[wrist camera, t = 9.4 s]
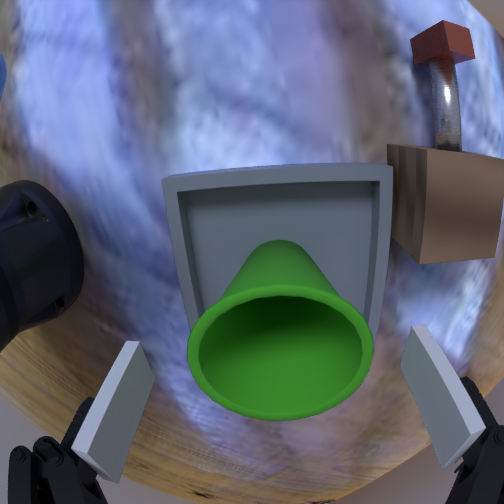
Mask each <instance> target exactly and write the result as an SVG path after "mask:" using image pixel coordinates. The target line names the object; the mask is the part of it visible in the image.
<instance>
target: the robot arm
mask: <svg viewBox="0 0 504 504" xmlns="http://www.w3.org/2000/svg"><path fill="white" fill-rule="evenodd" d="M6 77H7V69H6V63H5V60H4V57H3V55H2V54H1V53H0V100H1V97H2V94H3V91H4V88H5V83H6ZM82 282H83V260H82V253H81V248H80V244H79V241H78V238H77V235H76V232H75V229H74V227H73V225H72V223H71V221H70V219H69V217H68V215H67V213H66V211H65V210H64V208H63V207H62V205H61V204H60V203H59V201H58V200H57V199H56V198H55V197H54V196H53V195H52V194H51V193H50V192H49V191H48V190H47V189H46V188H44V187H43V186H41V185H40V184H38V183H35V182H32V181H28V180H21V181H17V182H14V183H11V184H8V185H5V186H3V187H1V188H0V352H1V351H2V350H3V349H4V348H5V347H6V346H7V345H8V344H9V343H10V341H11V340H12V339H13V338H14V337H15V336H16V335H17V334H18V333H20V332H22V331H25V330H27V329H30V328H32V327H35V326H37V325H40V324H42V323H45V322H47V321H50V320H52V319H55V318H57V317H58V316H60V315H61V314H63V313H64V312H65V311H66V310H67V309H68V308H69V307H70V306H71V305H72V304H73V303H74V302H75V300H76V299H77V297H78V295H79V293H80V290H81V287H82ZM400 368H401V370H402V372H403V374H404V377H405V379H406V381H407V383H408V385H409V388H410V390H411V392H412V395H413V397H414V399H415V401H416V404H417V406H418V409H419V411H420V413H421V416H422V418H423V421H424V423H425V426H426V428H427V431H428V433H429V436H430V439H431V441H432V444H433V446H434V449H435V452H436V455H437V457H438V460H439V463H440V466H441V468H444V467H446V466H449V465H451V464H454V463H456V462H457V461H458V460H459V459H460V458H461V457H463V459H464V461H463V462H462V463H461V464H460V466H458V467H457V469H456V470H455V471H454V473H456V472H457V471H459V473H458V475H457V478H456V480H455V483H454V485H453V487H452V490H451V492H450V494H449V497H448V499H447V501H446V503H445V504H504V426H503V425H498V423H497V422H496V420H495V418H494V416H493V414H492V412H491V411H490V409H489V407H488V405H487V404H486V402H485V400H483V397H482V395H481V393H479V390H478V388H477V386H476V385H475V383H474V382H473V381H472V380H470V379H469V378H468V377H467V376H466V377H463V378H460V379H459V377H458V376H457V374H456V372H455V371H454V369H453V367H452V366H451V364H450V362H449V361H448V359H447V358H446V356H445V354H444V353H443V351H442V350H441V348H440V347H439V345H438V343H437V342H436V340H435V339H434V337H433V336H432V334H431V333H430V331H429V330H428V328H427V327H426V325H425V324H421V325H415V326H411V330H410V334H409V337H408V341H407V344H406V348H405V351H404V354H403V358H402V361H401V364H400ZM154 381H155V378H154V376H153V373H152V371H151V369H150V366H149V364H148V361H147V359H146V356H145V354H144V351H143V349H142V346H141V343H140V341H126V342H125V344H124V346H123V348H122V350H121V351H120V353H119V355H118V357H117V359H116V360H115V362H114V364H113V366H112V368H111V370H110V371H109V373H108V375H107V377H106V379H105V381H104V383H103V385H102V386H101V388H100V390H99V392H98V394H97V396H96V398H91V397H88V398H87V399H86V400H85V401H84V402H83V403H82V404H81V405H80V407H79V409H78V411H77V412H76V413H77V414H75V416H74V418H73V421H72V422H71V424H70V426H69V428H68V430H67V432H66V434H65V436H64V438H63V440H62V442H61V444H59V443H58V442H57V441H56V440H55V439H54V438H53V437H50V436H44V437H41V438H39V439H38V440H37V441H36V442H35V443H34V446H33V453H32V452H31V451H30V450H29V449H28V448H27V447H25V446H17V447H16V448H14V449H13V450H12V452H11V454H10V460H9V473H8V504H108V503H107V501H106V499H105V497H104V494H103V492H102V490H101V488H100V485H99V483H98V481H97V480H96V476H97V474H99V476H101V477H102V478H103V479H105V480H108V481H112V482H115V483H119V480H120V477H121V474H122V471H123V468H124V465H125V462H126V459H127V456H128V453H129V450H130V447H131V444H132V442H133V439H134V436H135V433H136V430H137V427H138V425H139V422H140V419H141V416H142V413H143V411H144V408H145V405H146V403H147V400H148V397H149V394H150V392H151V389H152V386H153V384H154Z"/></svg>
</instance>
